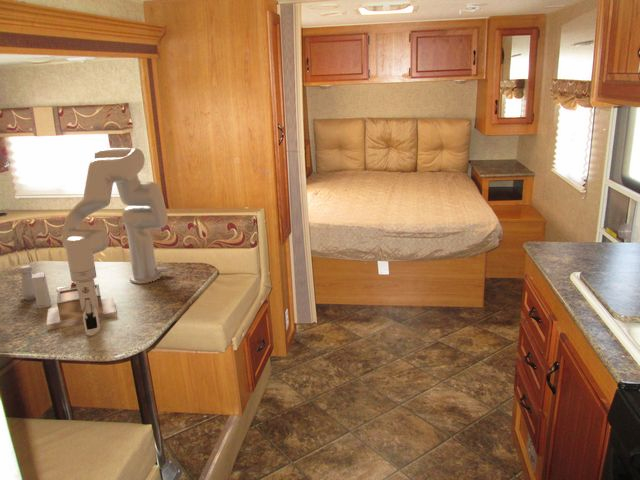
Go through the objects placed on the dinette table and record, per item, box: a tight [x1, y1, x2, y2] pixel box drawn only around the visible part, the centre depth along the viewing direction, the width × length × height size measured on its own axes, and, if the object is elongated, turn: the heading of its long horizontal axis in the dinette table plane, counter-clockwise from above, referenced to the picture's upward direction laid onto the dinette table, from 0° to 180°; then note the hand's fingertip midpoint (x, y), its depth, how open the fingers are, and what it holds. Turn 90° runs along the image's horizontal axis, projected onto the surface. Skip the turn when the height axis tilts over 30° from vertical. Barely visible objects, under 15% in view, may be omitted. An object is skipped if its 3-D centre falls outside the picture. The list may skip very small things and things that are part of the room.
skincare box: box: [31, 271, 52, 309], centre depth 193 cm, size 6×4×12 cm
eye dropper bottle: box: [83, 306, 101, 337], centre depth 170 cm, size 4×6×12 cm
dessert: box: [55, 281, 77, 292], centre depth 207 cm, size 12×12×5 cm
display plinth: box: [46, 283, 118, 331], centre depth 183 cm, size 22×14×9 cm, turn 115°
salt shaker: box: [18, 264, 36, 301], centre depth 199 cm, size 6×6×13 cm
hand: (91, 324), depth 171 cm, fingers closed on eye dropper bottle, 5 cm apart
